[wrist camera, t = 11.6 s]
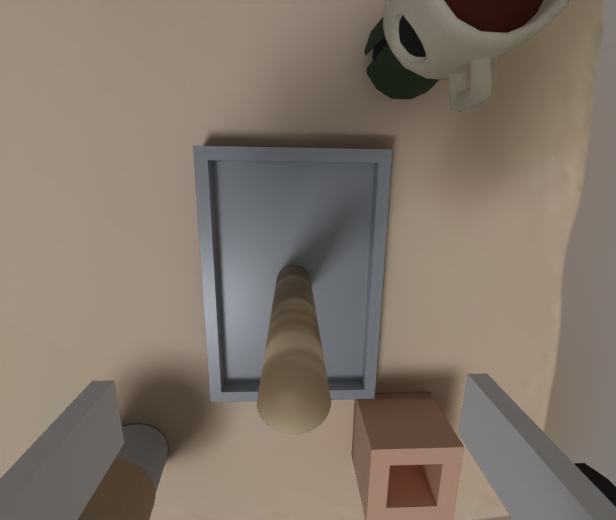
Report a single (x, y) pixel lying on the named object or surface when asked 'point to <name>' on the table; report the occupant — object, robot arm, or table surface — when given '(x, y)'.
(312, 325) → the dowel
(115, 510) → the coffee cup
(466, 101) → the character mug
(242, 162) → the tray
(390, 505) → the pink square tube
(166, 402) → the table surface
